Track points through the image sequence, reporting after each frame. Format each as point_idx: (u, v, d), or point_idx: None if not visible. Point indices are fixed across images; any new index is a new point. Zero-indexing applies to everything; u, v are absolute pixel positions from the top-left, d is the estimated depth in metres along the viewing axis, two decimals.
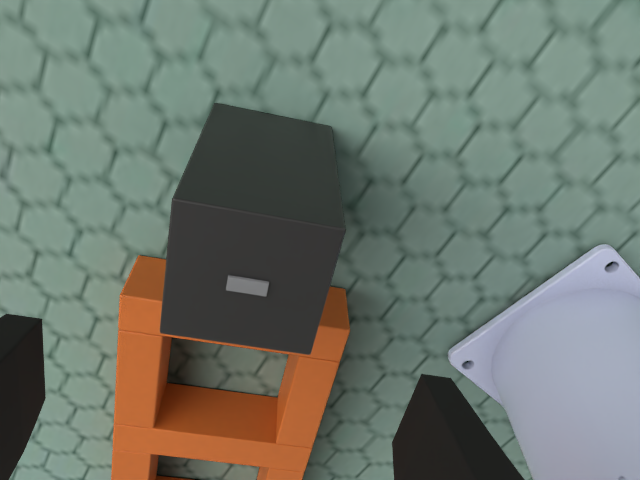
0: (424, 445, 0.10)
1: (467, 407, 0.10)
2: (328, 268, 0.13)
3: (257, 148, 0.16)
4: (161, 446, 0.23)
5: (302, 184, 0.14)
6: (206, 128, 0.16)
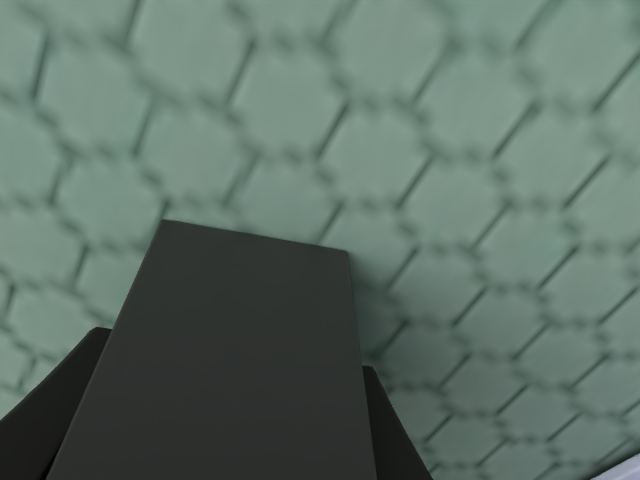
0: None
1: (381, 395, 0.10)
2: None
3: (221, 330, 0.09)
4: None
5: (301, 432, 0.08)
6: (136, 290, 0.09)
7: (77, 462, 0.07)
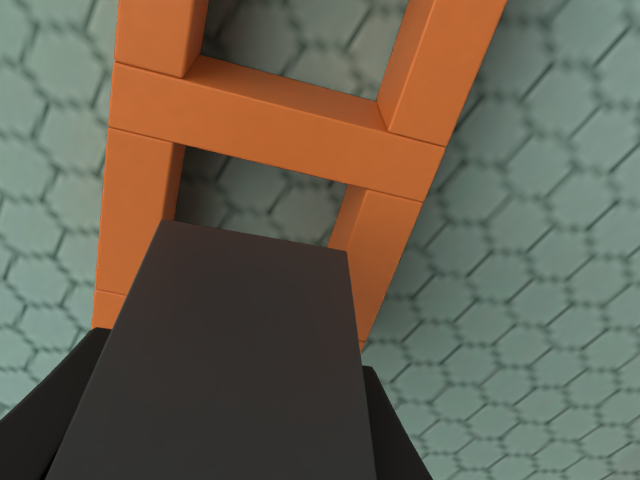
0: None
1: (380, 395, 0.10)
2: None
3: (221, 330, 0.09)
4: (192, 124, 0.13)
5: (300, 432, 0.08)
6: (135, 289, 0.09)
7: (76, 462, 0.07)
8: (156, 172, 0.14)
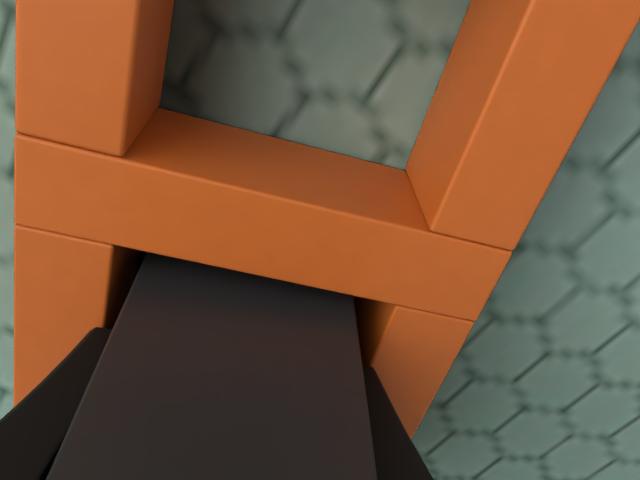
0: None
1: (381, 395, 0.10)
2: None
3: (222, 329, 0.09)
4: (140, 220, 0.09)
5: (301, 432, 0.08)
6: (136, 289, 0.09)
7: (77, 461, 0.07)
8: (90, 284, 0.10)
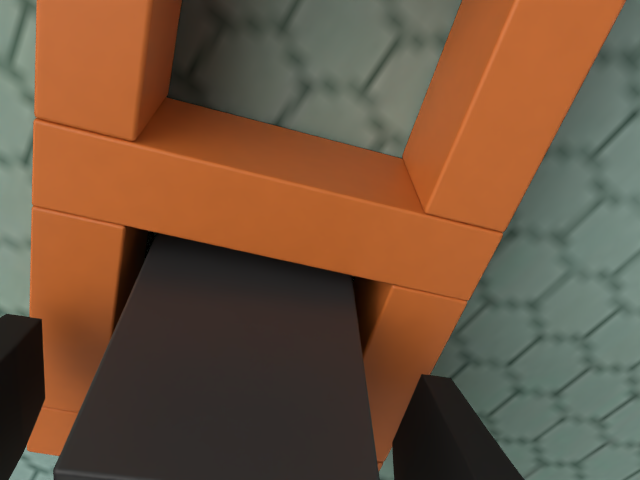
0: (424, 445, 0.10)
1: (467, 407, 0.10)
2: None
3: (230, 294, 0.10)
4: (150, 202, 0.10)
5: (302, 379, 0.08)
6: (151, 258, 0.10)
7: (105, 398, 0.07)
8: (102, 264, 0.10)
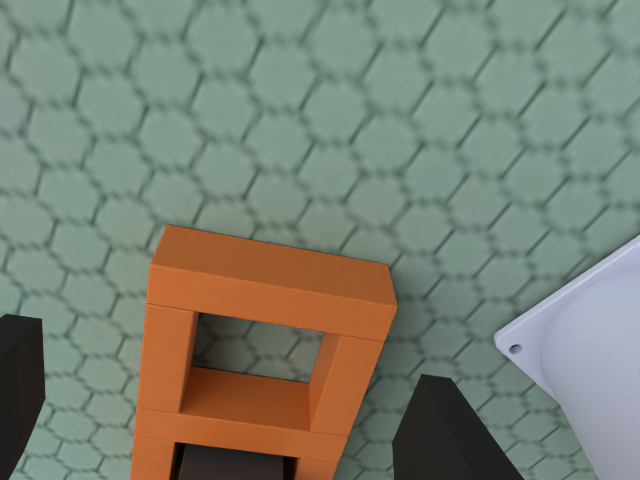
0: (424, 445, 0.10)
1: (467, 406, 0.10)
2: None
3: (223, 470, 0.22)
4: (186, 433, 0.21)
5: None
6: (187, 452, 0.22)
7: None
8: (165, 456, 0.22)
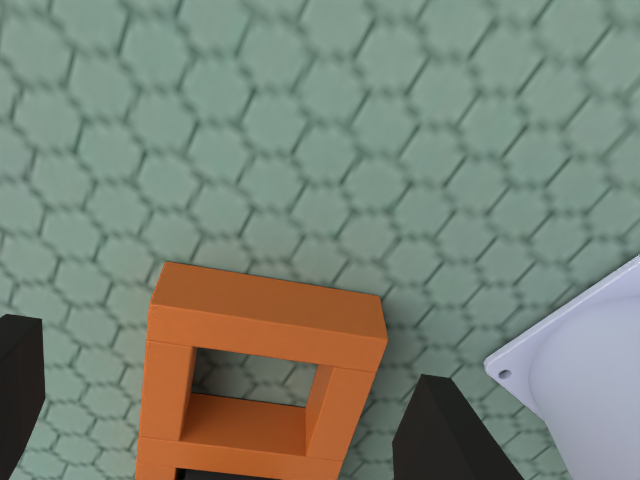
0: (424, 445, 0.10)
1: (467, 407, 0.10)
2: None
3: None
4: (186, 459, 0.22)
5: None
6: (187, 476, 0.23)
7: None
8: None
